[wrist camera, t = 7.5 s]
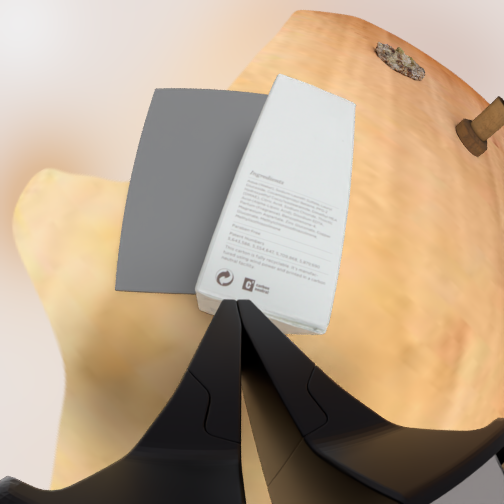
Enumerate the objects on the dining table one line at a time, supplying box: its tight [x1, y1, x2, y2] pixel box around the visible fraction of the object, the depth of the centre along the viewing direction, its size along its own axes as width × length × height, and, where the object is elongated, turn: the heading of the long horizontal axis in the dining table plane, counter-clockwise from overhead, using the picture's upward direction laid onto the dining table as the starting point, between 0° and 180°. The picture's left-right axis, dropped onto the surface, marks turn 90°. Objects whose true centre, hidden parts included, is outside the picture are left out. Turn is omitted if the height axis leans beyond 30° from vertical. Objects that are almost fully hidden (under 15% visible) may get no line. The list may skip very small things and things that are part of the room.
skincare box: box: [195, 74, 356, 335], centre depth 17 cm, size 8×6×15 cm
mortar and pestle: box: [456, 96, 504, 156], centre depth 25 cm, size 7×6×18 cm
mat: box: [115, 88, 268, 294], centre depth 21 cm, size 20×14×1 cm
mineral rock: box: [375, 42, 425, 80], centre depth 35 cm, size 11×4×8 cm
